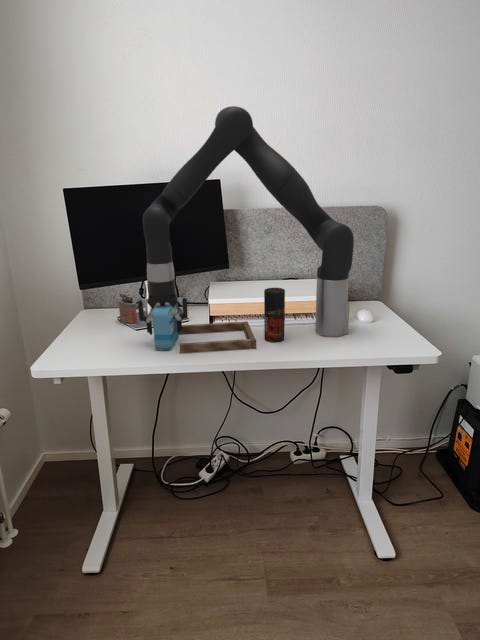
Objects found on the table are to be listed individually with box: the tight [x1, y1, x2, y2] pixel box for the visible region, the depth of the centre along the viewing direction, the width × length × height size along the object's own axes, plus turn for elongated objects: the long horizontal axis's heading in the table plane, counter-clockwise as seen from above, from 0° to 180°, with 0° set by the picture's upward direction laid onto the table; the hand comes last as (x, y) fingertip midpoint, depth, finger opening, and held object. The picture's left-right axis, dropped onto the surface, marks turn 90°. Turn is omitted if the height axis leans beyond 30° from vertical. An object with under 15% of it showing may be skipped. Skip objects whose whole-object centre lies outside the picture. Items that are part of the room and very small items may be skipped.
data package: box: [152, 302, 180, 351], centre depth 148 cm, size 12×4×12 cm, turn 175°
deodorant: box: [263, 287, 286, 344], centre depth 150 cm, size 6×6×15 cm
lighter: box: [117, 292, 139, 326], centre depth 167 cm, size 8×3×10 cm, turn 47°
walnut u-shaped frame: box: [178, 320, 257, 355], centre depth 151 cm, size 22×17×2 cm
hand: (164, 332), depth 149 cm, fingers open, 7 cm apart
